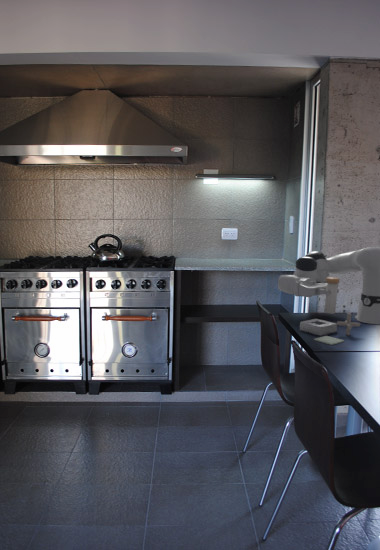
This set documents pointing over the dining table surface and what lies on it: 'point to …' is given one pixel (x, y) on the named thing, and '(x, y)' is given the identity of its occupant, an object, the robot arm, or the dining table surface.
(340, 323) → the pipe connector
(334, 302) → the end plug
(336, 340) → the rubber mat
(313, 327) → the housing block
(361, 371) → the dining table surface
